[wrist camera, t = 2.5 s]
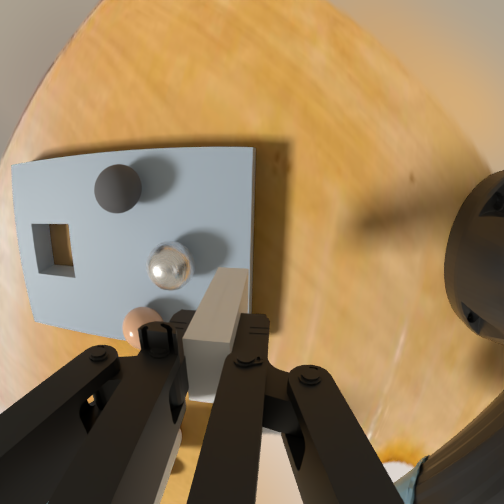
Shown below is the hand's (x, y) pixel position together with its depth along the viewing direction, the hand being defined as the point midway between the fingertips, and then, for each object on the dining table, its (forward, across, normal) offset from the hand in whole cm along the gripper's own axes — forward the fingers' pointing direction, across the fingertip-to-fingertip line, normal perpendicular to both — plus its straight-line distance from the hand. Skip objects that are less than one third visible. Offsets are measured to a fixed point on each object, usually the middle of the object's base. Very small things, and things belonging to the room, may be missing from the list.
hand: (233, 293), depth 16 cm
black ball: (+4, +8, -5) cm, 10 cm away
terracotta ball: (+4, +7, +5) cm, 10 cm away
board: (+8, +10, 0) cm, 13 cm away
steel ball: (+4, +5, 0) cm, 6 cm away
